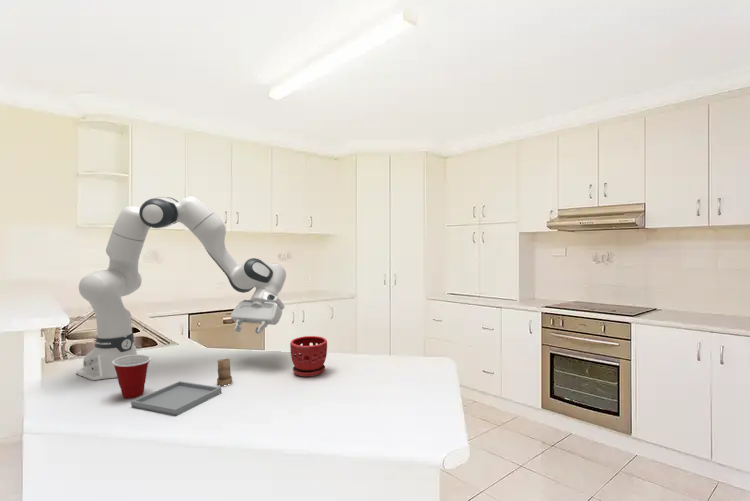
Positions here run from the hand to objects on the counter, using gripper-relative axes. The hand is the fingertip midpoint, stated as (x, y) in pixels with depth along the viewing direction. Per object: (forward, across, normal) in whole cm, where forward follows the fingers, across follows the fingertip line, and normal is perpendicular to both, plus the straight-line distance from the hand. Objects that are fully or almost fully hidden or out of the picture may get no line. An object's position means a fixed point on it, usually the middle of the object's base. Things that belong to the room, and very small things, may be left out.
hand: (247, 332), depth 158 cm
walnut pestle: (+19, 0, +2) cm, 19 cm away
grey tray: (+31, -4, -10) cm, 32 cm away
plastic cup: (+32, -21, -11) cm, 40 cm away
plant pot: (+6, +22, +16) cm, 28 cm away
